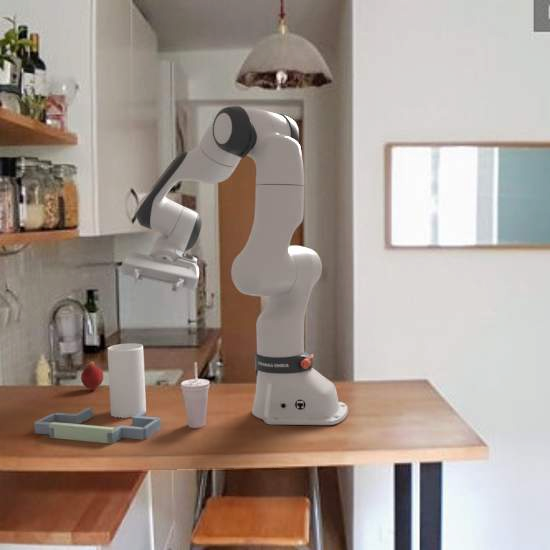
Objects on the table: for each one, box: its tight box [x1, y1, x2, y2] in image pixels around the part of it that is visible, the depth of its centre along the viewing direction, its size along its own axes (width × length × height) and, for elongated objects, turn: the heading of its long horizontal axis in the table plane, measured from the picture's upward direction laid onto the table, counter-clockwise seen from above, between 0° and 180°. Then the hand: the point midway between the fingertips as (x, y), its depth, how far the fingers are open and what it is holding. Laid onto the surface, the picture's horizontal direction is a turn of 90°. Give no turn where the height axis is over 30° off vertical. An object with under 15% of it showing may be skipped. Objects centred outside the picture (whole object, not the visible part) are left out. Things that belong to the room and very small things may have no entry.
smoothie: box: [180, 361, 211, 429], centre depth 126 cm, size 6×6×14 cm
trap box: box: [34, 407, 162, 445], centre depth 125 cm, size 26×14×3 cm, turn 73°
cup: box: [107, 342, 147, 419], centre depth 136 cm, size 8×8×16 cm
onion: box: [80, 361, 104, 392], centre depth 156 cm, size 6×6×8 cm
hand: (156, 285), depth 144 cm, fingers open, 8 cm apart
